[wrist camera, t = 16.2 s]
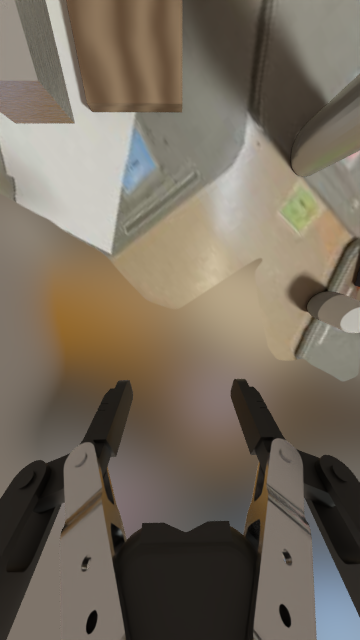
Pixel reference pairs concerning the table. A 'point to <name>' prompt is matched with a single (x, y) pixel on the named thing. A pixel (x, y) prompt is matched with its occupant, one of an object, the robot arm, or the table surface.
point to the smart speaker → (336, 310)
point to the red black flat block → (358, 279)
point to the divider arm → (30, 65)
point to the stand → (129, 53)
